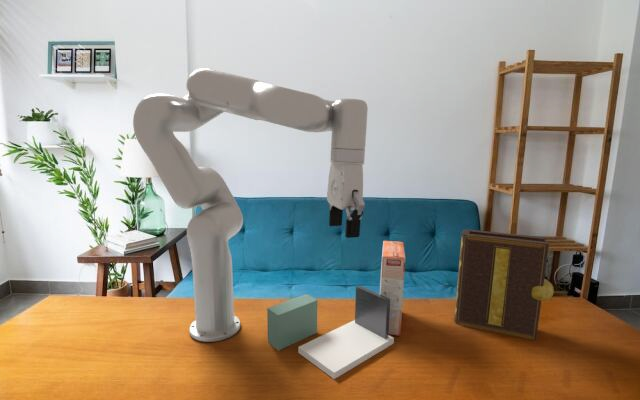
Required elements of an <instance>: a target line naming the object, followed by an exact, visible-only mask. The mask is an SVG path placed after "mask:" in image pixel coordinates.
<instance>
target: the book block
mask: <svg viewBox="0 0 640 400" xmlns="http://www.w3.org/2000/svg"><path fill="white" fill-rule="evenodd" d="M266 313H267V316H266V317H267V318H266V319H267V323H266V324H267V343H268V344H270V345H271V346H272V347H273V348H274V349H276V350H277V351H280V350H282V349H283V350H284V349H286V348H287V347H289V346H291V345H293V344H296V343H298V342H300V341H302V340H305V339H306V338H308V337H310V336H313V335H315V334H317V333H318V299H317V298H315V297H313V296H311V295H309V294H307V293H305V294H302V295H300V296H297V297H294V298H291V299H288V300H286V301H283V302H280V303H277V304H275V305H272V306H269V307H267V308H266Z"/></svg>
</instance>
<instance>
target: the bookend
mask: <svg viewBox="0 0 640 400" xmlns="http://www.w3.org/2000/svg"><path fill="white" fill-rule="evenodd" d="M354 305H355V306H354V307H355V309H354V310H355V311H354V320H355V323H356V324H358V325H360V326H362V327H364V328H365V329H367V330H369V331H371V332H373V333H375V334H377V335H378V336H380V337H382V338H384V339H386V338H388V335H389V314H390V299H389V298H387V297H384V296H382V295H380V293H377V292H375V291H373V290H371V289H368V288H366V287H363V286H362V285H357V286H355V304H354Z"/></svg>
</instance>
